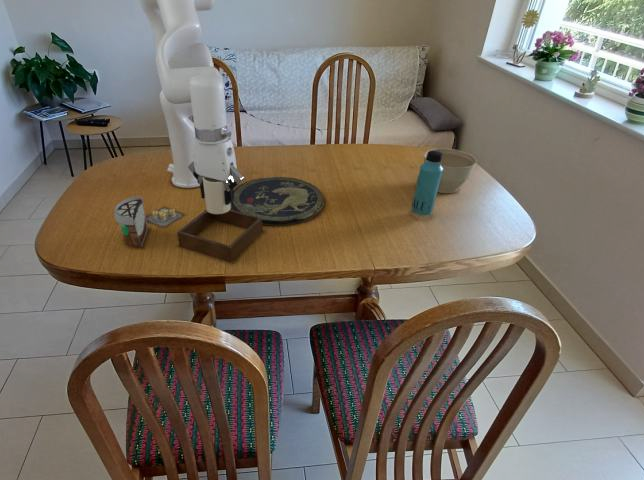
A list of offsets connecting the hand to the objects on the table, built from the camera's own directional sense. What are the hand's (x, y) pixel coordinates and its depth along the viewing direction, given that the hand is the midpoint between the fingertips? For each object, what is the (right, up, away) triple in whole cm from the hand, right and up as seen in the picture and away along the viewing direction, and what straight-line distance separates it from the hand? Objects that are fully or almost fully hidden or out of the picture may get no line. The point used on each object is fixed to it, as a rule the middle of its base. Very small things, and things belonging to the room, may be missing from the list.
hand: (217, 198), depth 107 cm
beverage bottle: (+59, -2, +18) cm, 62 cm away
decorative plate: (+15, +3, +24) cm, 29 cm away
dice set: (-19, -3, +16) cm, 25 cm away
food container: (-24, -10, +7) cm, 27 cm away
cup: (0, -2, +2) cm, 3 cm away
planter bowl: (+71, +8, +33) cm, 79 cm away
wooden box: (0, -10, +7) cm, 12 cm away
